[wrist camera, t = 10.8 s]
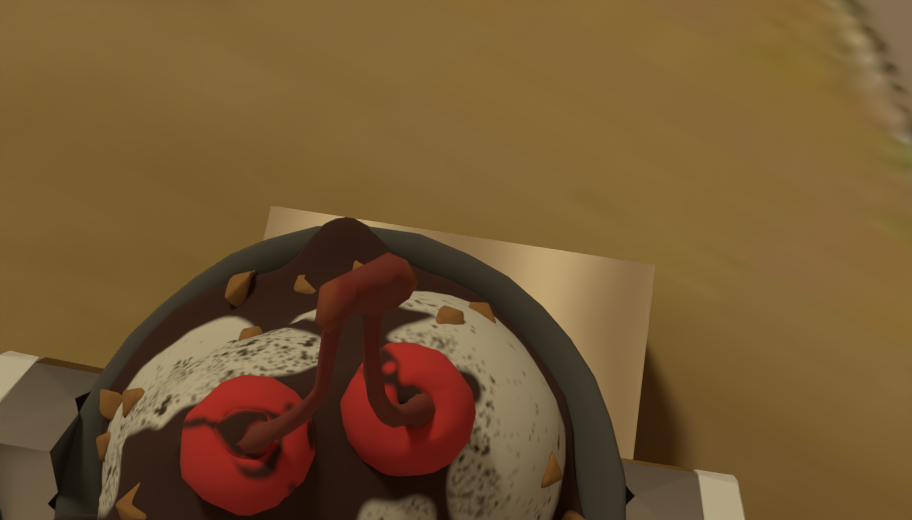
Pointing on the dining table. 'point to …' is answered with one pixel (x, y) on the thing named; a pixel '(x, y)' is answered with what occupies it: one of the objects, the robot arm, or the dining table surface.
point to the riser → (559, 304)
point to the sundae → (346, 395)
